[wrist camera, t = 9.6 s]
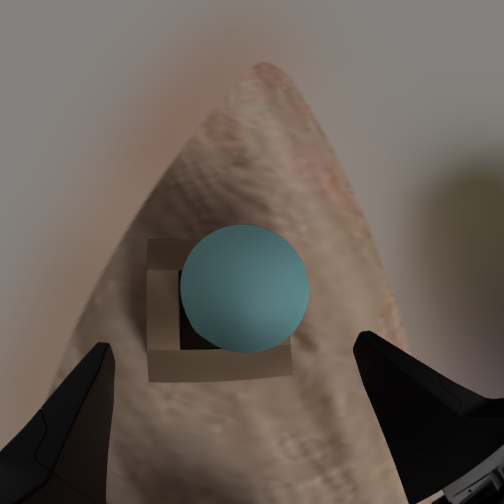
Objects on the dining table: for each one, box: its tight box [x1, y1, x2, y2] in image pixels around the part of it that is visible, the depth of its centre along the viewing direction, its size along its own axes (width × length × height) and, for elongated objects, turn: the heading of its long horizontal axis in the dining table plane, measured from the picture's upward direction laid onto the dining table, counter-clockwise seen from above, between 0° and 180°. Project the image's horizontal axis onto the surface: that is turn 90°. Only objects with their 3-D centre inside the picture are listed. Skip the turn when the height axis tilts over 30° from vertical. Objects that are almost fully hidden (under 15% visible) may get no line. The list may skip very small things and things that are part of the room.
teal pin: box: [180, 224, 309, 353], centre depth 13 cm, size 3×3×13 cm
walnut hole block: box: [146, 239, 292, 382], centre depth 18 cm, size 8×8×4 cm
